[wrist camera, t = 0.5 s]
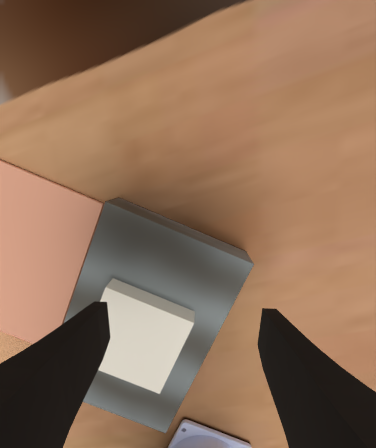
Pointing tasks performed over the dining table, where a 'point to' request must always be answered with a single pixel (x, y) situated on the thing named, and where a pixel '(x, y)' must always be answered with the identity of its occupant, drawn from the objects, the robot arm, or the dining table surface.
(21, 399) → the robot arm
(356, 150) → the dining table surface
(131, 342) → the coaster
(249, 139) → the dining table surface
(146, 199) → the dining table surface
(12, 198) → the mat
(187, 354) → the plate
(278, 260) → the dining table surface
